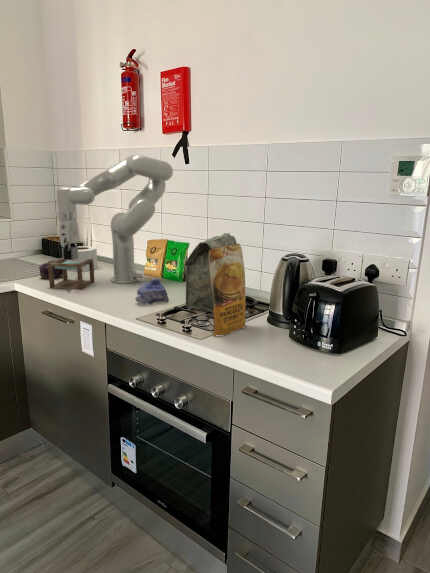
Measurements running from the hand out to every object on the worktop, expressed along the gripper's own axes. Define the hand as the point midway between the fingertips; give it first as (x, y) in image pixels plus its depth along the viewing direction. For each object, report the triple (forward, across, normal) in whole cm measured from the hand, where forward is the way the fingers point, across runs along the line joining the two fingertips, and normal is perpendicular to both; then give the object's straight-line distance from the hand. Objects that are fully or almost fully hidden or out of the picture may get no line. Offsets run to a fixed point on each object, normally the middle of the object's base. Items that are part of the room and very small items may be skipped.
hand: (70, 257), depth 193 cm
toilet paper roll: (+13, +35, +10) cm, 39 cm away
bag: (+13, -17, -66) cm, 69 cm away
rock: (+13, +13, +15) cm, 24 cm away
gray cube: (+1, 0, 0) cm, 1 cm away
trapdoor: (+4, +1, 0) cm, 4 cm away
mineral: (+13, -18, -41) cm, 46 cm away
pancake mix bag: (+13, -45, -74) cm, 87 cm away
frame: (+13, +1, 0) cm, 13 cm away
